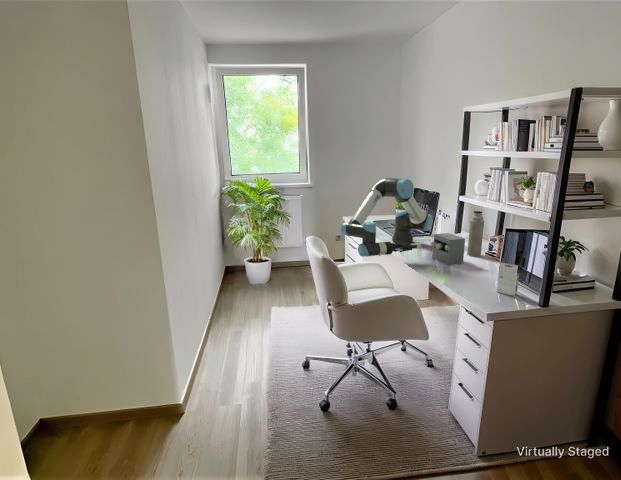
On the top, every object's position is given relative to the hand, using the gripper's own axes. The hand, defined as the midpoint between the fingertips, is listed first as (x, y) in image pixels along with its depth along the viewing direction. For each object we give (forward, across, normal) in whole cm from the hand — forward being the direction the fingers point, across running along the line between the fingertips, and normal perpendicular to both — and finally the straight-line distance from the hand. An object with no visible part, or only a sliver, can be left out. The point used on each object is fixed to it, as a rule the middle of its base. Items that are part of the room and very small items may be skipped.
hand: (420, 245), depth 221 cm
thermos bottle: (+39, -1, -10) cm, 40 cm away
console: (+16, +5, -9) cm, 19 cm away
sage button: (+14, +9, -1) cm, 17 cm away
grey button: (+11, +5, -1) cm, 12 cm away
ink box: (+10, +58, -10) cm, 60 cm away
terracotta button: (+11, 0, -1) cm, 11 cm away
